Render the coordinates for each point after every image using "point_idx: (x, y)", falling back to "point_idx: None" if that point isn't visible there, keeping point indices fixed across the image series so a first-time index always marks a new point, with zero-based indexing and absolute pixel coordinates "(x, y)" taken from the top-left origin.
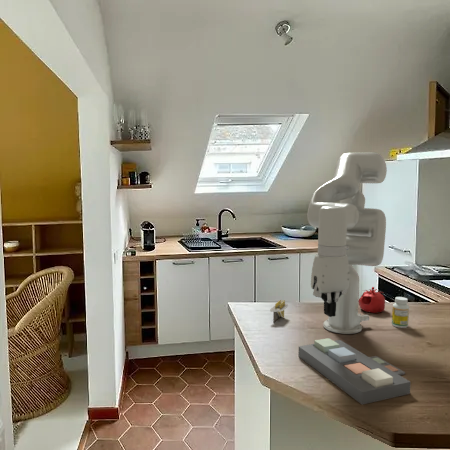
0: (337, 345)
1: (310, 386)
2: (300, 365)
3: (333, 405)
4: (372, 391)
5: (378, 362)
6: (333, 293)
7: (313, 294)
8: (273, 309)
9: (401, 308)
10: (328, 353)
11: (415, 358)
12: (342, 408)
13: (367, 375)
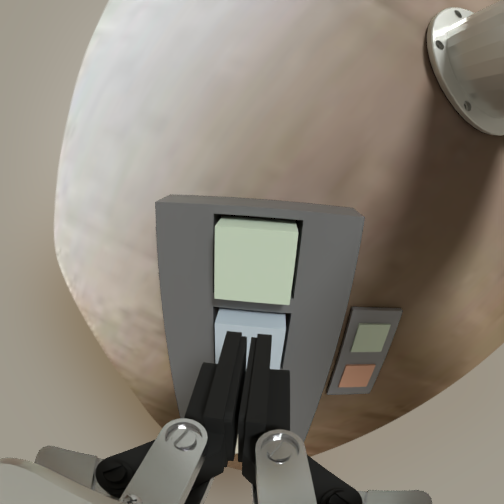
0: (279, 303)
1: (126, 348)
2: (145, 255)
3: (142, 402)
4: None
5: (364, 347)
6: (293, 498)
7: (42, 456)
8: None
9: None
10: (217, 315)
11: (460, 340)
12: (153, 412)
13: None
